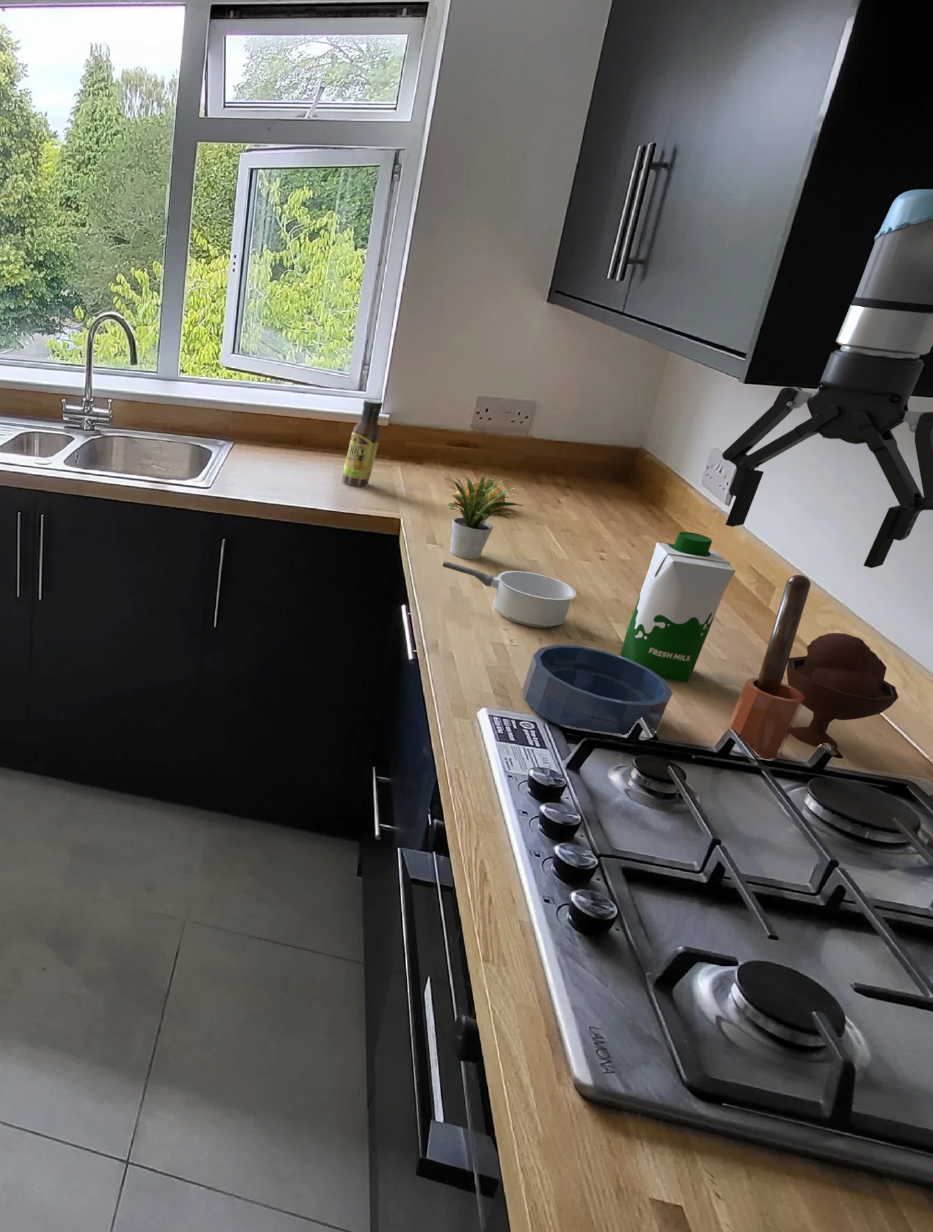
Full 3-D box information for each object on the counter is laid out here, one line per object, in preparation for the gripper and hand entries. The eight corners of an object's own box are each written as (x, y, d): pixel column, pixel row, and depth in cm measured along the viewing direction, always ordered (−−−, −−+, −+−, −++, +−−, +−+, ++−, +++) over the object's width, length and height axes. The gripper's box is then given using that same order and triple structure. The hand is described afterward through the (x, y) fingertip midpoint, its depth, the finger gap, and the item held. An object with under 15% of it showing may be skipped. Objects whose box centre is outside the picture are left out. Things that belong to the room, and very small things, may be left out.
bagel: (444, 496, 206) (449, 476, 204) (492, 500, 206) (497, 480, 204) (460, 510, 197) (465, 489, 195) (510, 514, 196) (515, 493, 195)
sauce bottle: (335, 480, 212) (352, 397, 204) (355, 479, 214) (372, 396, 207) (354, 488, 206) (372, 403, 199) (374, 487, 209) (393, 402, 201)
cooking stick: (765, 752, 109) (818, 578, 103) (748, 751, 109) (800, 577, 103) (751, 744, 111) (801, 573, 105) (734, 743, 111) (784, 572, 105)
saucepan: (442, 582, 156) (450, 552, 154) (569, 614, 146) (579, 583, 144) (428, 603, 147) (436, 572, 144) (562, 638, 137) (573, 606, 135)
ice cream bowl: (851, 776, 107) (906, 666, 101) (745, 731, 115) (790, 627, 109) (878, 751, 113) (931, 646, 107) (775, 710, 121) (819, 610, 115)
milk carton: (676, 662, 132) (725, 536, 125) (696, 690, 124) (749, 558, 117) (611, 650, 135) (655, 526, 127) (627, 677, 127) (674, 546, 119)
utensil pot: (786, 766, 108) (816, 702, 104) (743, 764, 107) (771, 700, 104) (752, 740, 113) (779, 678, 109) (710, 738, 112) (736, 676, 109)
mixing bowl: (684, 749, 110) (701, 707, 107) (563, 744, 109) (577, 702, 106) (607, 685, 124) (621, 647, 122) (500, 681, 123) (511, 642, 121)
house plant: (448, 569, 162) (470, 483, 155) (407, 542, 174) (426, 461, 168) (516, 569, 165) (541, 484, 158) (471, 542, 177) (493, 462, 171)
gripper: (1056, 373, 84) (954, 580, 92) (763, 334, 104) (700, 506, 112) (1029, 376, 81) (925, 590, 89) (730, 334, 100) (668, 512, 108)
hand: (799, 544), depth 100 cm, fingers open, 13 cm apart
